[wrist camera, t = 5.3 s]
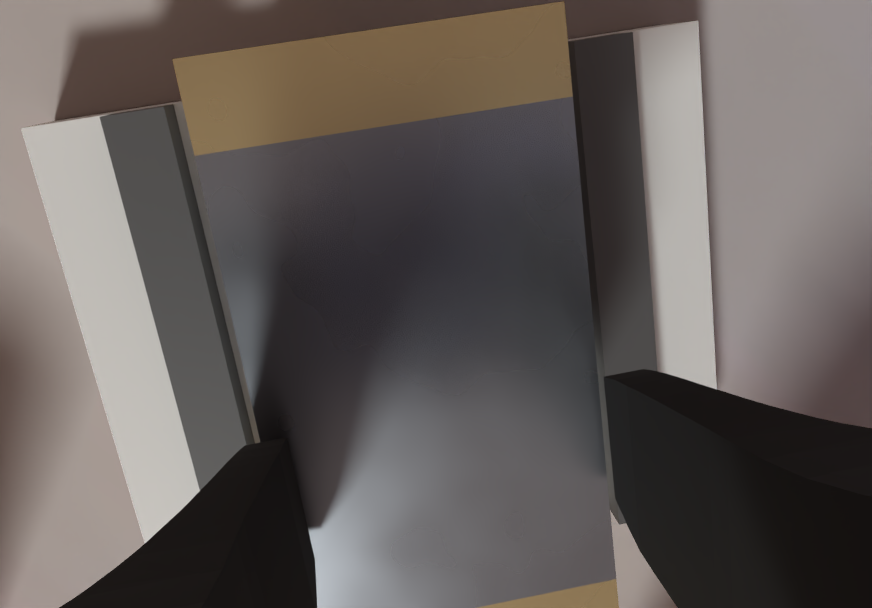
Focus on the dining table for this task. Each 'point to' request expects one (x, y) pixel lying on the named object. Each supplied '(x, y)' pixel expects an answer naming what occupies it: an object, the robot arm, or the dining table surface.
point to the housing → (417, 303)
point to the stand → (205, 292)
